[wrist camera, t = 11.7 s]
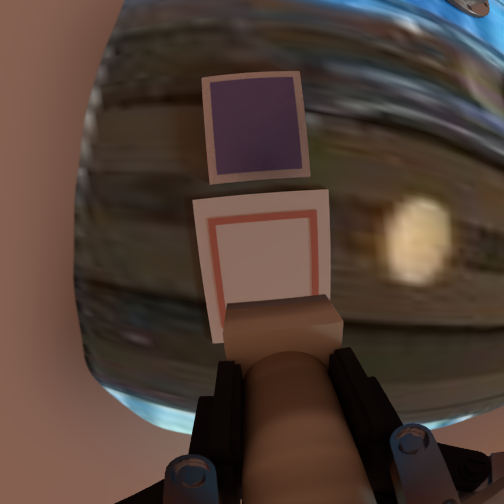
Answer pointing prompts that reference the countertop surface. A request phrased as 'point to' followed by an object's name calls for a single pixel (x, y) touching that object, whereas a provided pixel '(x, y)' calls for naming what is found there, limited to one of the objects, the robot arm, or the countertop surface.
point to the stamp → (293, 404)
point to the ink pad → (255, 126)
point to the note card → (262, 248)
